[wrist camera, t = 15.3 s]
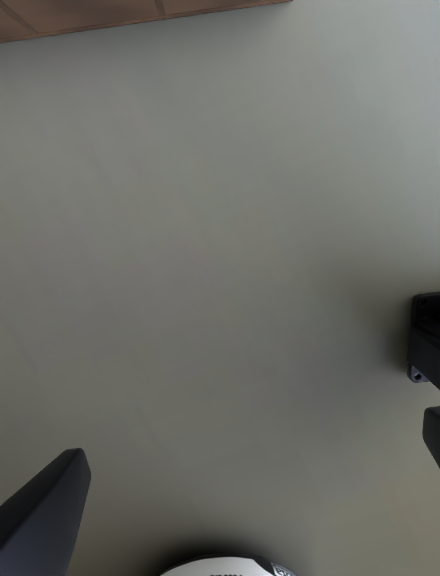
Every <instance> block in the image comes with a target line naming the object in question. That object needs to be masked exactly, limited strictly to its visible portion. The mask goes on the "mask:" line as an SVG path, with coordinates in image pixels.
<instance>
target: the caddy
mask: <svg viewBox="0 0 440 576" xmlns="http://www.w3.org/2000/svg"><path fill="white" fill-rule="evenodd" d="M288 1H293V0H0V43H1V42H8V41H15V40H22V39H29V38H36V37H43V36H50V35H57V34H64V33H71V32H78V31H85V30H92V29H99V28H106V27H113V26H120V25H127V24H134V23H141V22H148V21H155V20H162V19H169V18H176V17H183V16H190V15H197V14H204V13H211V12H218V11H225V10H232V9H239V8H246V7H253V6H260V5H267V4H274V3H281V2H288Z"/></svg>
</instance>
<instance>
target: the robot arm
mask: <svg viewBox="0 0 440 576" xmlns="http://www.w3.org/2000/svg"><path fill="white" fill-rule="evenodd" d="M422 300H424V301H423V303H422V304H421V305H420V302H421V301H422ZM407 361H408V373H407V375H408V377H409V379H411V380H412V381H413V382H415V383H419V382H428V381H430V382H432V383H433V384H434V385H435V386H436V387H437V388H438V389H439V390H440V292H436V293H428V294H420V295H417V296H415V297H414V299H413V301H412V311H411V326H410V328H409V334H408V350H407ZM416 374H418V375H417V376H415V375H416ZM422 433H423V439H424V442H425V444H426V446H427V447H428V449H429V451H430V452H431V454H432V456H433V458H434V459H435V461H436V463H437V465H438V466H439V468H440V406H437V407H429V408H426V410H425V411H424V420H423V432H422ZM90 480H91V472H90V468H89V465H88V462H87V459H86V456H85V453H84V450H83V449H81V448H75V449H68V450H65V451H64V452H62V453H61V454H60V455H59V456H58V457H57V458H55V459H54V460H53V461H52V462H51V463H50V464H48V465H47V466H46V467H45V468H44V469H43V470H42V471H40V472H39V473H38V474H37V475H36V476H35V477H33V478H32V479H31V480H30V481H29V482H28V483H26V484H25V485H24V486H23V487H22V488H21V489H19V490H18V491H17V492H16V493H15V494H14V495H13V496H11V497H10V498H9V499H8V500H7V501H6V502H4V503H3V504H2V505H1V506H0V576H65V574H66V571H67V568H68V565H69V562H70V559H71V556H72V552H73V549H74V546H75V542H76V538H77V534H78V530H79V526H80V522H81V518H82V514H83V510H84V506H85V501H86V497H87V493H88V489H89V485H90Z"/></svg>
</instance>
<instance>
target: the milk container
mask: <svg viewBox="0 0 440 576" xmlns="http://www.w3.org/2000/svg"><path fill="white" fill-rule="evenodd" d="M158 576H296V575H295V574H294V573H293V572H291V571H290V570H288V569H286V568H284V567H282V566H280V565H278V564H276V563H274V562H271V561H269V560H267V559H265V558H263V557H260V556H253V555H244V554H240V553H234V552H228V553H220V554H206V555H200V556H197V557H194V558H192V559H190V560H187V561H184V562H181V563H178V564H175V565H173V566H172V567H170V568H169V569H167V570H165V571H164V572H162V573H161V574H160V575H158Z"/></svg>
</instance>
